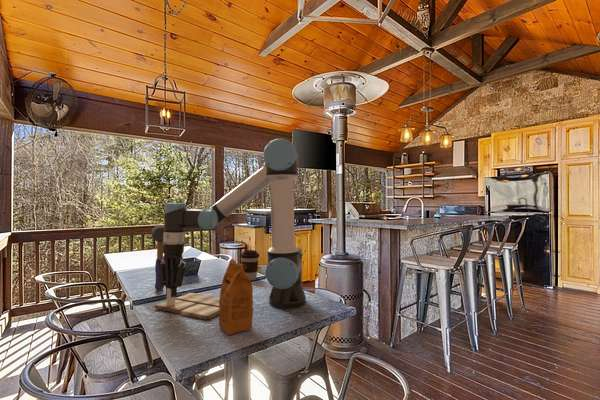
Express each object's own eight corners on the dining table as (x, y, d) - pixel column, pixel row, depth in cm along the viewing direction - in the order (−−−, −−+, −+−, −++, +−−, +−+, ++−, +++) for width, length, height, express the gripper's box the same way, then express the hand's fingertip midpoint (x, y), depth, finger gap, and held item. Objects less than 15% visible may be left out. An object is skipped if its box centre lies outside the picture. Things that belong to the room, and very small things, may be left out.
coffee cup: (239, 277, 170) (239, 249, 170) (257, 276, 173) (257, 249, 173) (241, 281, 160) (241, 252, 161) (260, 280, 163) (260, 252, 163)
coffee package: (243, 318, 111) (244, 257, 111) (255, 331, 100) (256, 263, 100) (215, 323, 106) (216, 259, 106) (225, 337, 96) (226, 266, 96)
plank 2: (223, 311, 117) (223, 308, 117) (207, 319, 109) (207, 316, 109) (198, 306, 122) (198, 303, 122) (180, 314, 113) (180, 310, 113)
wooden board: (238, 304, 126) (238, 299, 126) (224, 311, 118) (224, 306, 118) (190, 296, 136) (190, 291, 136) (174, 302, 128) (174, 297, 128)
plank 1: (196, 306, 122) (196, 303, 122) (178, 313, 114) (178, 309, 114) (172, 302, 127) (173, 299, 127) (154, 308, 119) (154, 305, 119)
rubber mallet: (169, 292, 140) (170, 226, 140) (151, 294, 137) (152, 226, 137) (166, 285, 151) (167, 224, 151) (149, 287, 148) (150, 224, 148)
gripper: (152, 242, 118) (149, 304, 118) (179, 245, 113) (176, 310, 113) (168, 240, 125) (165, 299, 125) (194, 243, 120) (191, 305, 119)
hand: (170, 304), depth 119 cm, fingers closed
